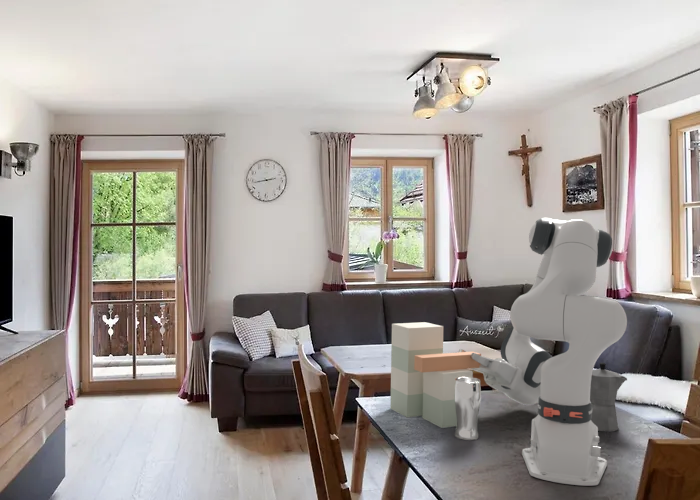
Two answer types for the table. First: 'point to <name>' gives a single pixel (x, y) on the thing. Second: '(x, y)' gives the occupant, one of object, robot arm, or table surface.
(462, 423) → the beer glass
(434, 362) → the long brick
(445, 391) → the short tower
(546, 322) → the robot arm
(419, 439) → the table surface
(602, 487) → the table surface
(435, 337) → the tall tower
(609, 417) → the coffeepot
